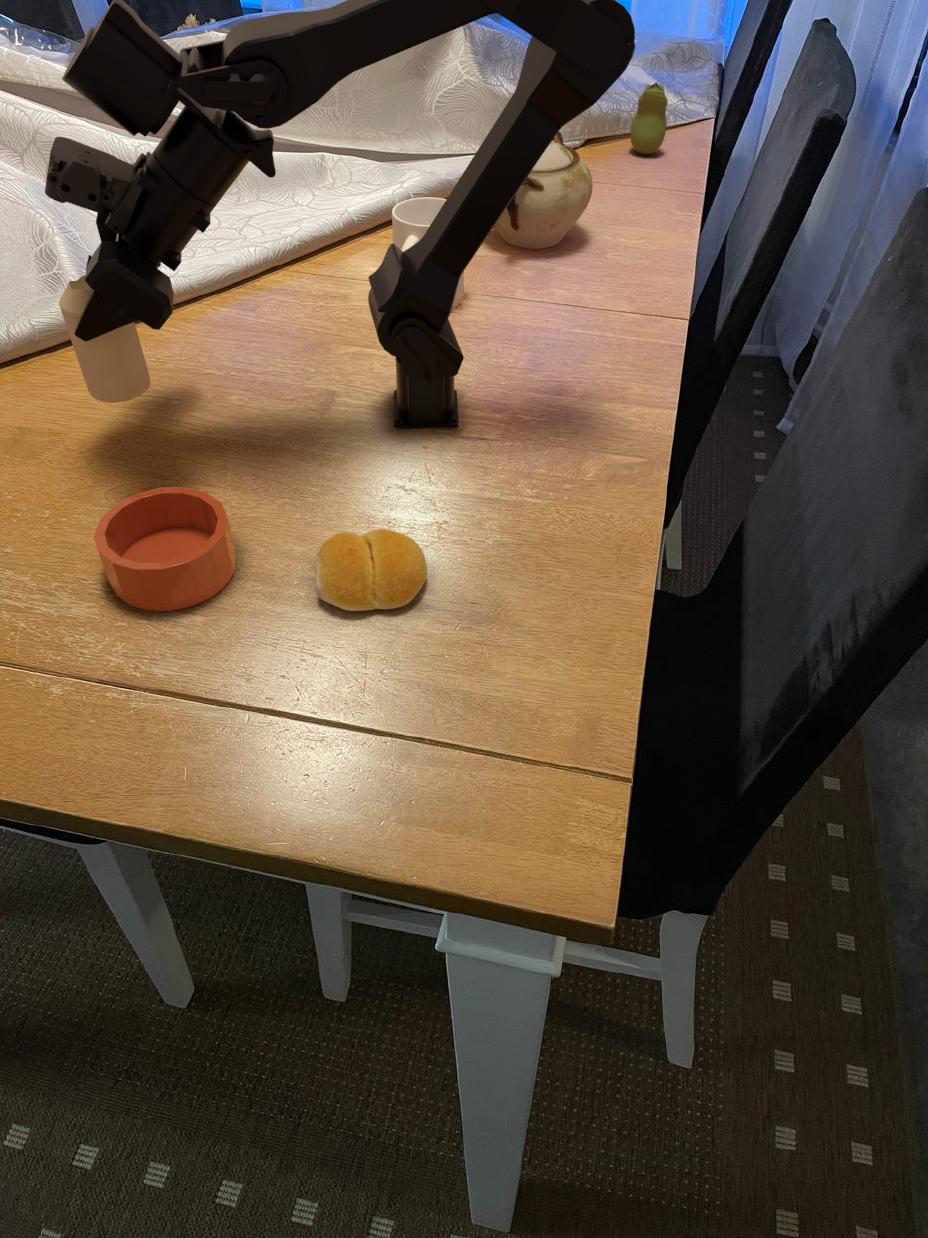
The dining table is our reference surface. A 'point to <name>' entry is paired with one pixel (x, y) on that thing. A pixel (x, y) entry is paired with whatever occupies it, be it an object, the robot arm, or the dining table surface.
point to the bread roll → (370, 570)
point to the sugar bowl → (548, 199)
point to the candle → (105, 352)
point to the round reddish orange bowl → (166, 548)
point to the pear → (649, 120)
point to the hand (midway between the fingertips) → (83, 320)
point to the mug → (418, 227)
